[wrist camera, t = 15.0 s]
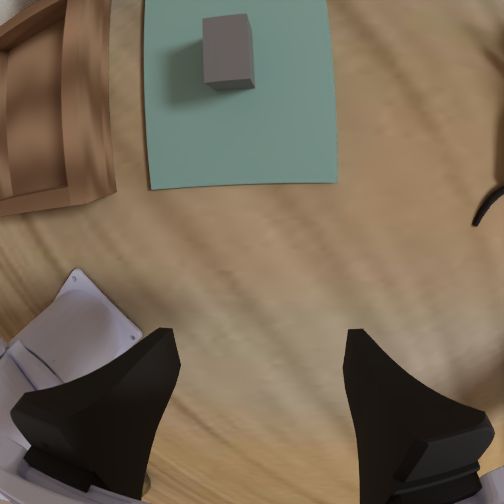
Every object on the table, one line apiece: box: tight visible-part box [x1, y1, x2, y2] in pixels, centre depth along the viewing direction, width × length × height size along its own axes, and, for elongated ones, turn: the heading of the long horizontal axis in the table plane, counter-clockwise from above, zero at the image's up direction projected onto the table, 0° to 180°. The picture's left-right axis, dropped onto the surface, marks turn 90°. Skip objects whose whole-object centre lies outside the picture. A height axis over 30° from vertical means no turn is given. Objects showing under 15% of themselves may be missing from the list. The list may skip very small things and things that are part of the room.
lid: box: [144, 0, 338, 190], centre depth 15 cm, size 16×12×4 cm
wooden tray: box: [0, 0, 117, 217], centre depth 14 cm, size 24×12×5 cm, turn 3°
